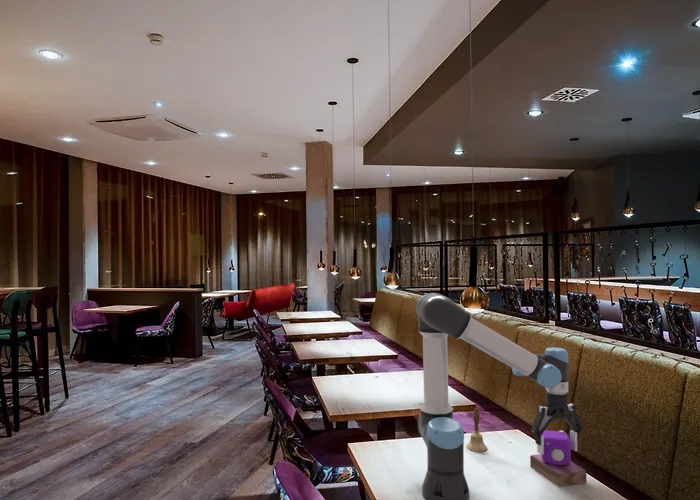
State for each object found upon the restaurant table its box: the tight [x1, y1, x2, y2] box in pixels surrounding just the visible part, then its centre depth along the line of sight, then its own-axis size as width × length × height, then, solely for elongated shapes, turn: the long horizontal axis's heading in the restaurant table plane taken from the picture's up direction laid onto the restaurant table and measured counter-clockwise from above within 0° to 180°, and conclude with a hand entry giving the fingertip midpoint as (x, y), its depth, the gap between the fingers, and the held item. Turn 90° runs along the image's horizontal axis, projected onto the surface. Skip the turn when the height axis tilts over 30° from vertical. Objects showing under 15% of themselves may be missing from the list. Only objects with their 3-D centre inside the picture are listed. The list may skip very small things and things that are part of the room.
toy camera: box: [541, 429, 572, 465], centre depth 174 cm, size 11×14×10 cm
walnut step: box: [529, 453, 587, 488], centre depth 174 cm, size 11×16×4 cm
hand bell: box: [465, 407, 488, 453], centre depth 199 cm, size 8×8×16 cm
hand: (557, 451), depth 174 cm, fingers open, 13 cm apart
